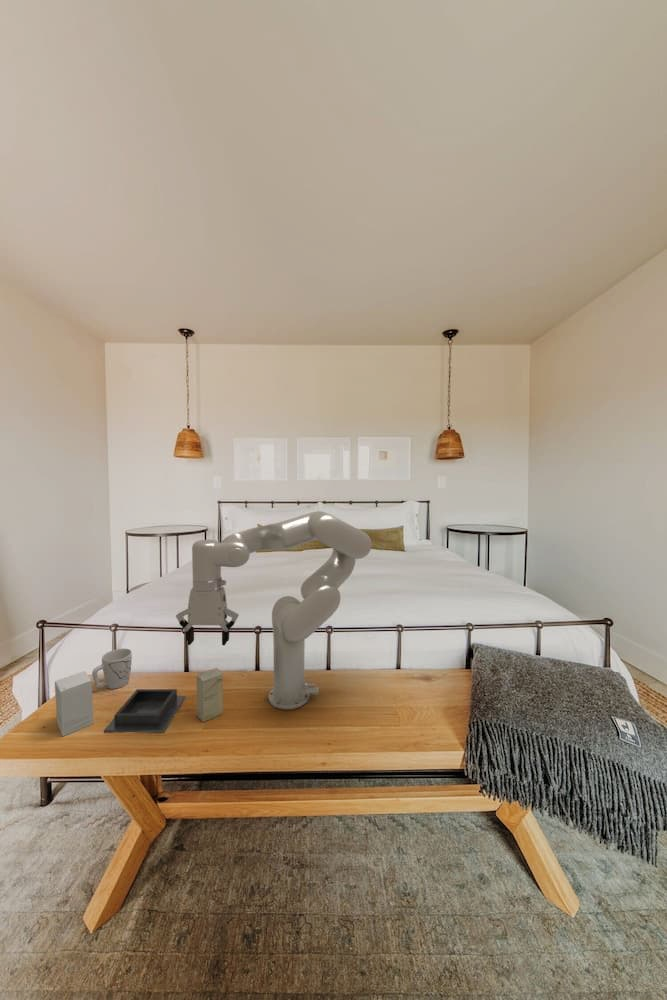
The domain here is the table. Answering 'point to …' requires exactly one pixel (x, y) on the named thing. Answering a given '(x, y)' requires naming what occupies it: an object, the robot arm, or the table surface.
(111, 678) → the mug
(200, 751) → the table surface
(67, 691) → the supplement box
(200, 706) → the skincare box
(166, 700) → the sleeve holder
